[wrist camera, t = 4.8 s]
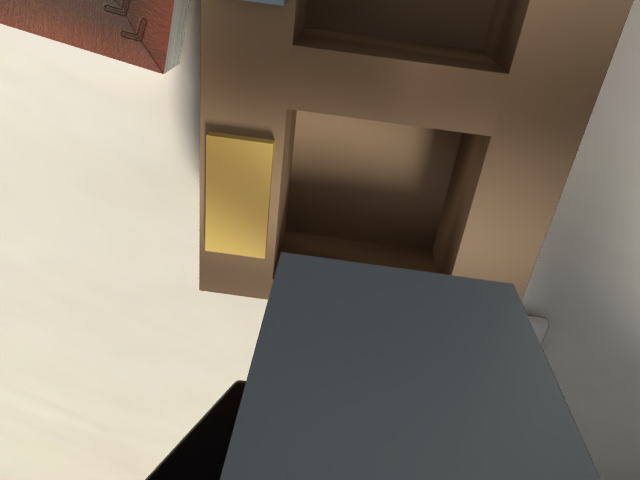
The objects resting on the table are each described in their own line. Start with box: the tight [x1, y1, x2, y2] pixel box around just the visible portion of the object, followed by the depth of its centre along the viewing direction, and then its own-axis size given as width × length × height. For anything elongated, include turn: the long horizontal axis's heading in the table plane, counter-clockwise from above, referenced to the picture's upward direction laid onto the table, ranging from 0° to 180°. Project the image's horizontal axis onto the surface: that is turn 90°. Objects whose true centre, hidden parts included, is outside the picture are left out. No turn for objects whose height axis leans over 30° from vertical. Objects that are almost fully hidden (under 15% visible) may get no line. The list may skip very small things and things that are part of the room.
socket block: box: [199, 0, 634, 301], centre depth 15 cm, size 14×10×4 cm
